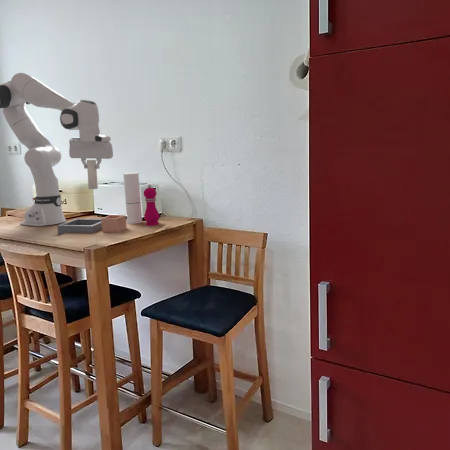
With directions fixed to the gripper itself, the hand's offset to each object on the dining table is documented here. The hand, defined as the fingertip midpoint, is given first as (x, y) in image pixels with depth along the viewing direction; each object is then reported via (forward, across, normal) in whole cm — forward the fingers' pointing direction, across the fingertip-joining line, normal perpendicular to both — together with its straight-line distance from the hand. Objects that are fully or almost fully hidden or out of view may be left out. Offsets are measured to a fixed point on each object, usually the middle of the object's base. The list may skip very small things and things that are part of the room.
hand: (91, 168), depth 214 cm
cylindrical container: (+29, +12, +16) cm, 35 cm away
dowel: (+9, 0, 0) cm, 9 cm away
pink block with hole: (+28, +10, -1) cm, 30 cm away
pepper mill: (+28, +23, +12) cm, 38 cm away
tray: (+29, -6, 0) cm, 30 cm away
